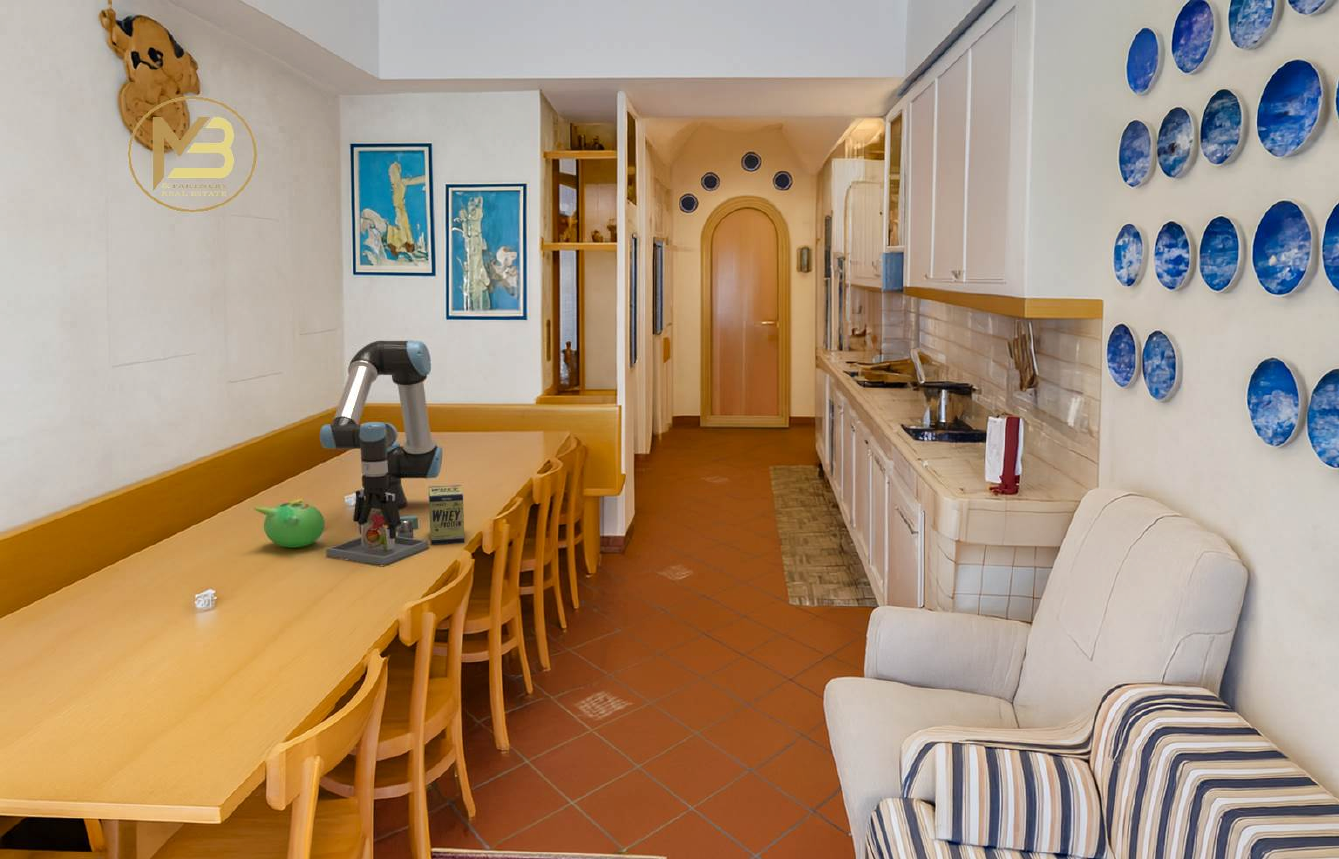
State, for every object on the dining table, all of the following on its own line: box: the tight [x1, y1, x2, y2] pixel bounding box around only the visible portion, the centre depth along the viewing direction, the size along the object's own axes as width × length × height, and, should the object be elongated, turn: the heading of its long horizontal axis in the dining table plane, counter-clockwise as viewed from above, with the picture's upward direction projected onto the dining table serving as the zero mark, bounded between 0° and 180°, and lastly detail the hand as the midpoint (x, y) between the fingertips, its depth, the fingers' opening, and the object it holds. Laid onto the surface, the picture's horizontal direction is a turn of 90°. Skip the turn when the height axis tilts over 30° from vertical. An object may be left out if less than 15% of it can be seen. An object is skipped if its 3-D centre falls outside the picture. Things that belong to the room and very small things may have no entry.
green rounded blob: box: [253, 497, 325, 549], centre depth 292 cm, size 18×17×15 cm
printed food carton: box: [363, 514, 387, 550], centre depth 287 cm, size 6×11×9 cm
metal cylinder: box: [396, 519, 415, 539], centre depth 303 cm, size 5×5×6 cm
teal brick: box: [391, 514, 419, 533], centre depth 314 cm, size 4×8×4 cm, turn 125°
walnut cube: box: [366, 508, 383, 524], centre depth 319 cm, size 5×5×5 cm
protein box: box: [428, 485, 465, 545], centre depth 304 cm, size 10×16×16 cm
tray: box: [325, 533, 430, 567], centre depth 287 cm, size 20×22×2 cm
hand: (378, 546), depth 287 cm, fingers closed on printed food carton, 9 cm apart
